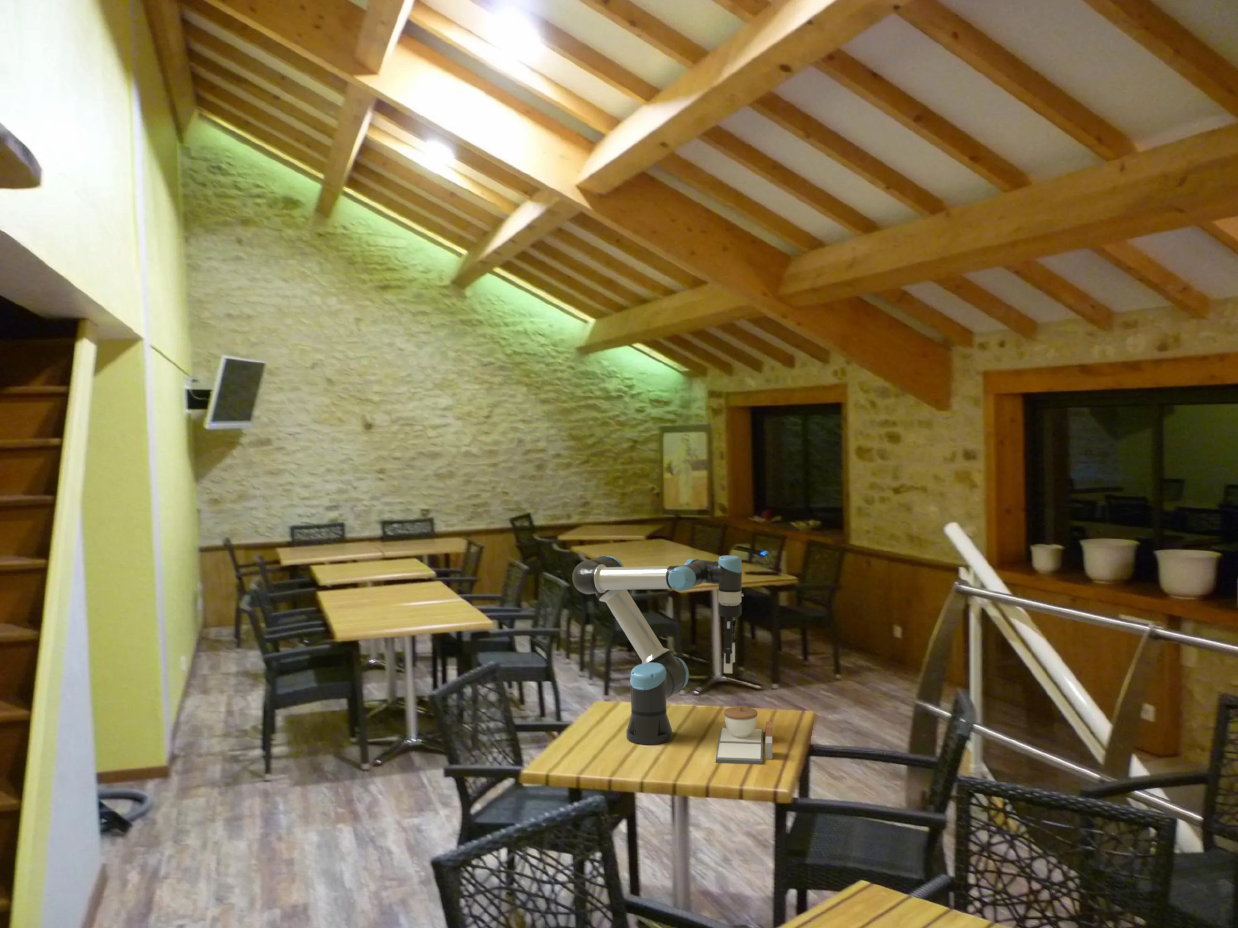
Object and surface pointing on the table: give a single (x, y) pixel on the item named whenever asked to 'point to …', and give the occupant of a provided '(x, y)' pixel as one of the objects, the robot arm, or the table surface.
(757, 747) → the board
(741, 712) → the lidded jar
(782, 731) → the table surface
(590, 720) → the table surface
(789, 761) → the table surface
